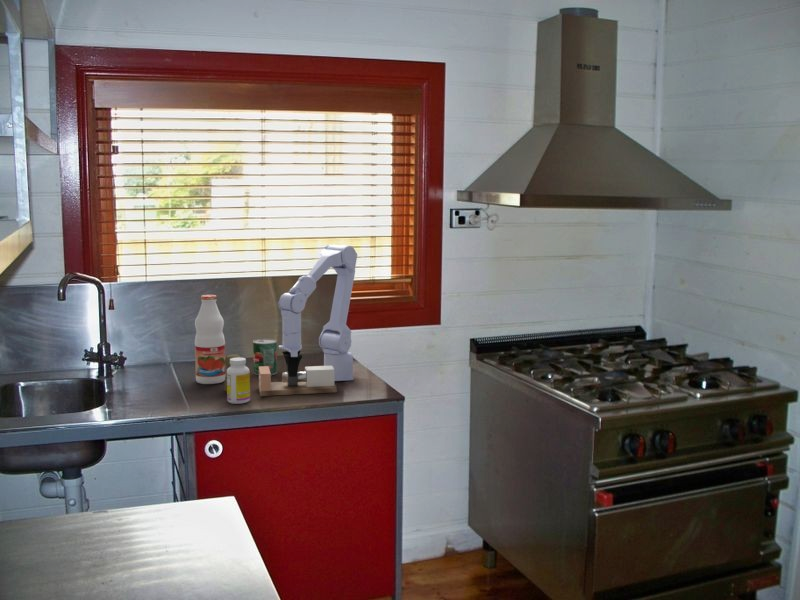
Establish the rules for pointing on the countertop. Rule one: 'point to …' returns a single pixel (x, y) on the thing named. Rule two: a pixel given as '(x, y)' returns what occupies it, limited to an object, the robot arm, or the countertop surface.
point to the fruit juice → (209, 343)
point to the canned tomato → (265, 355)
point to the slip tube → (294, 378)
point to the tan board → (295, 389)
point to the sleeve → (319, 376)
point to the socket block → (264, 378)
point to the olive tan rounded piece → (227, 362)
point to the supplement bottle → (238, 381)
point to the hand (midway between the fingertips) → (292, 374)
